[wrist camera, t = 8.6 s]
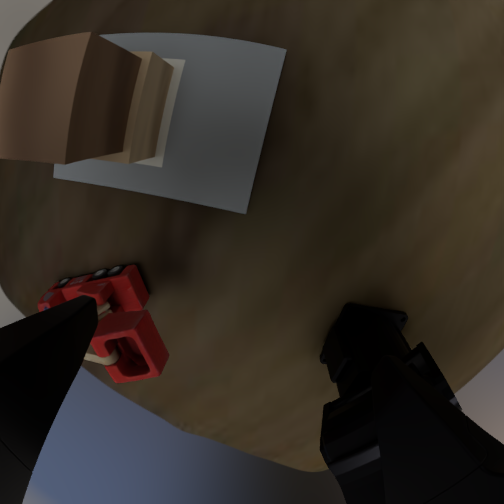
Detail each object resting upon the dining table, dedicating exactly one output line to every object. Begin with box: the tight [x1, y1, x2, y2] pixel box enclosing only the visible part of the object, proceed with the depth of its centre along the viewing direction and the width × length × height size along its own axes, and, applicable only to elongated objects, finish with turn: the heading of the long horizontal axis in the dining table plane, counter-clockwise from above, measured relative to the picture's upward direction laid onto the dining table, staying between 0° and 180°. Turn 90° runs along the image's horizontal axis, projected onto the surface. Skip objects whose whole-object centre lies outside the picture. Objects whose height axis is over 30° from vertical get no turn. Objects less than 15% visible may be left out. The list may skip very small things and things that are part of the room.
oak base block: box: [91, 51, 174, 164], centre depth 13 cm, size 6×6×4 cm
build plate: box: [54, 33, 287, 214], centre depth 16 cm, size 15×11×1 cm
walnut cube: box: [0, 32, 142, 165], centre depth 9 cm, size 5×5×5 cm
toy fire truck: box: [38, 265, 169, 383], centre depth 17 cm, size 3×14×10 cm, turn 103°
